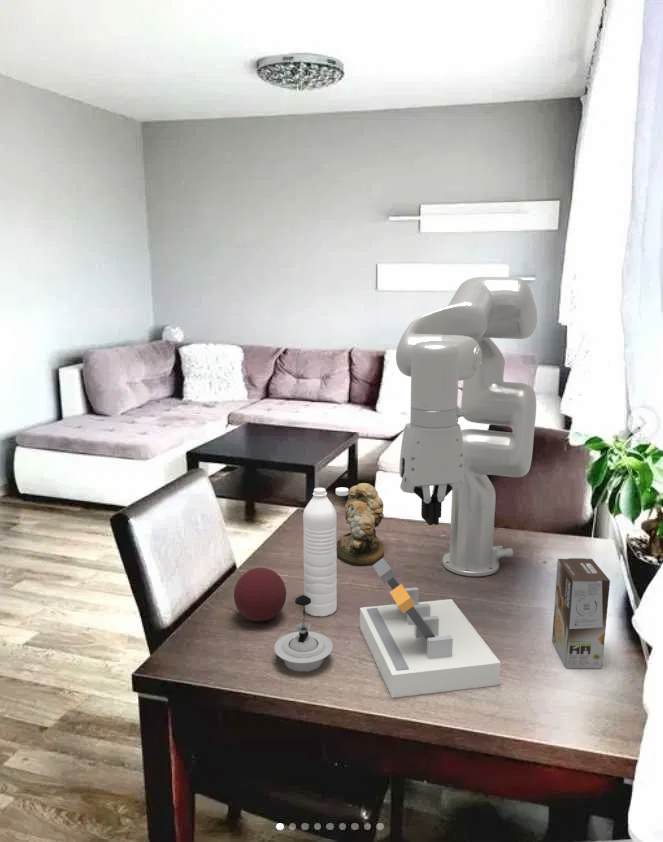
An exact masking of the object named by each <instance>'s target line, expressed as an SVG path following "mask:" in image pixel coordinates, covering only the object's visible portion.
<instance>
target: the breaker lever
mask: <svg viewBox="0 0 663 842" xmlns="http://www.w3.org/2000/svg"><path fill="white" fill-rule="evenodd" d="M399 584H400V585H399V586H397V587H396V588H395V589H392V590H391V591H390V592H389V594H390V596H392V599H393V601H394V602H395V604H397V605H398V607H399V608H400V610H401V611H402V612H403V613H405V612H407V614H408V615H409V617H410V618H411V619H412V621H413V622H414V623H415V625H416V626H417V627H418V629H419V630H420V632H421V633H422V634H423V636H424V637H425V638H426V640H427V638H431V637H435V635H434V634H433V632H432V631H431V629H430V627H429V626H428V625H427V623H426V622H425V621H424V619H423V618H422V617H421V615H420V614H419V612H418V611H417V610H416V608H415V607H414V605H415V603H414V602H413V600H412V599H411V597H410V595H409V594H408V592H407V591H406V589H405V587H404V585H403V584H402V583H399Z"/></svg>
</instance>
